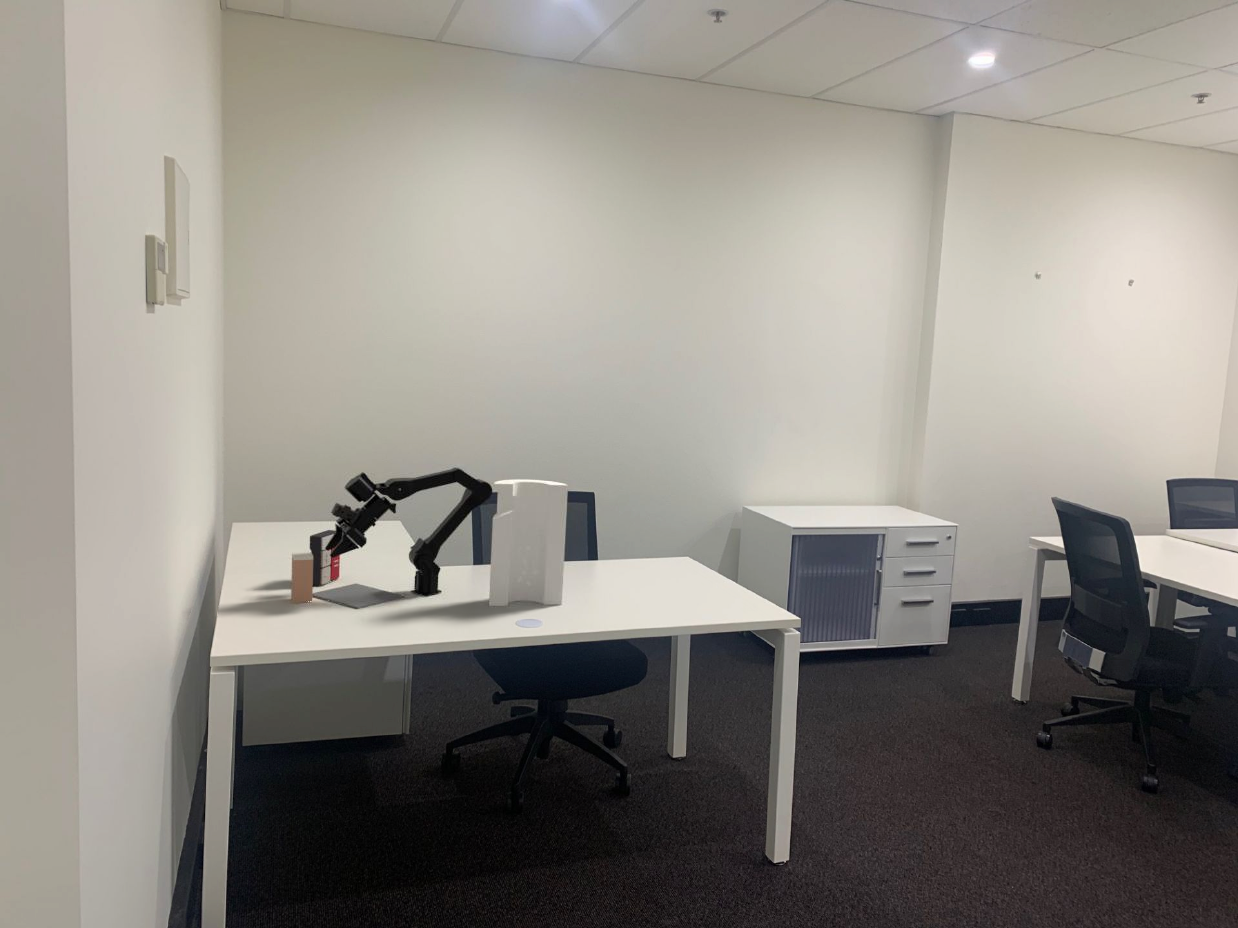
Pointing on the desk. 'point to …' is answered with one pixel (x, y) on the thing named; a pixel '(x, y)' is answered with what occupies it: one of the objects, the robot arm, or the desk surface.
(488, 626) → the desk surface
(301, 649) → the desk surface
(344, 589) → the grey mat
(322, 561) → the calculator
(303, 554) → the peach block
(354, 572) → the desk surface
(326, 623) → the desk surface
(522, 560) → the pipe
